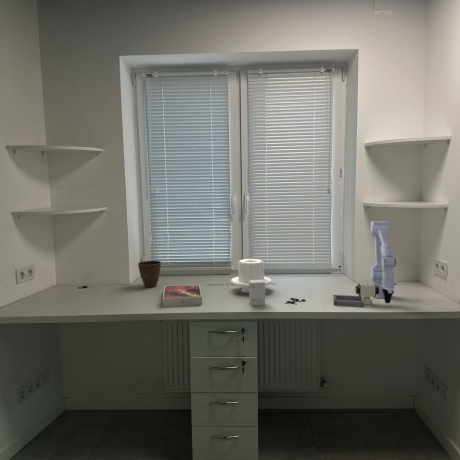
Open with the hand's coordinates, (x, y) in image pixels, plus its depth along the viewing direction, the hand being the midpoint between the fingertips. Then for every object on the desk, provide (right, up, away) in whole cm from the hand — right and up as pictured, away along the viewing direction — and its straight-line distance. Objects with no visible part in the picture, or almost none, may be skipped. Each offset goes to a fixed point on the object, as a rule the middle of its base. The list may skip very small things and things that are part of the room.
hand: (387, 302), depth 209 cm
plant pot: (-139, +2, +48) cm, 147 cm away
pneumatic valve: (-10, -1, +3) cm, 11 cm away
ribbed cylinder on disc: (-72, +1, +33) cm, 79 cm away
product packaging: (-114, -2, +18) cm, 115 cm away
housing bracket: (-19, -1, +5) cm, 20 cm away
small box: (-70, -2, +5) cm, 71 cm away
